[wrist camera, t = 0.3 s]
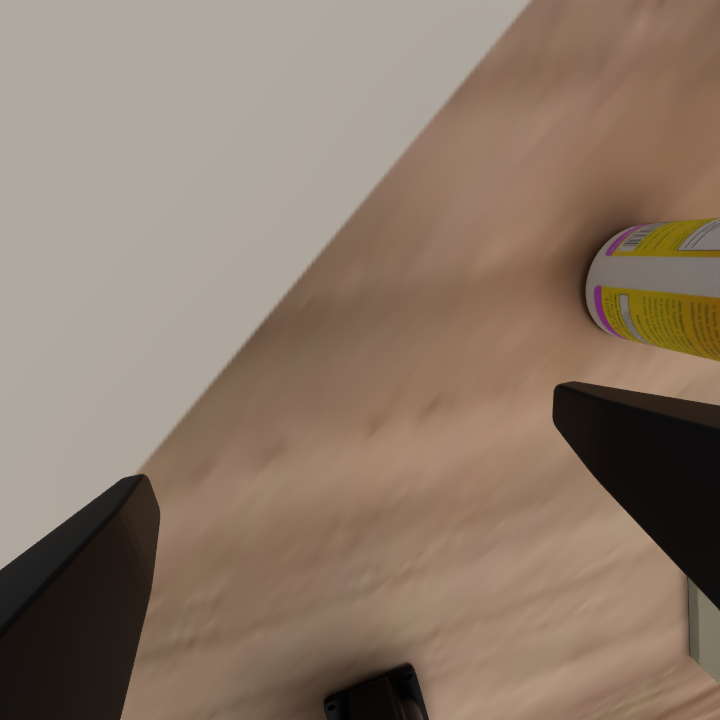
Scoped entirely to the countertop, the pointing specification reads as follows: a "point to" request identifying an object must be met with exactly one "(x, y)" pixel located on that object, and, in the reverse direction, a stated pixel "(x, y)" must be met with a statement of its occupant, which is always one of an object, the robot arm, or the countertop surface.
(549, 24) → the countertop surface
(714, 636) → the tray
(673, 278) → the supplement bottle
